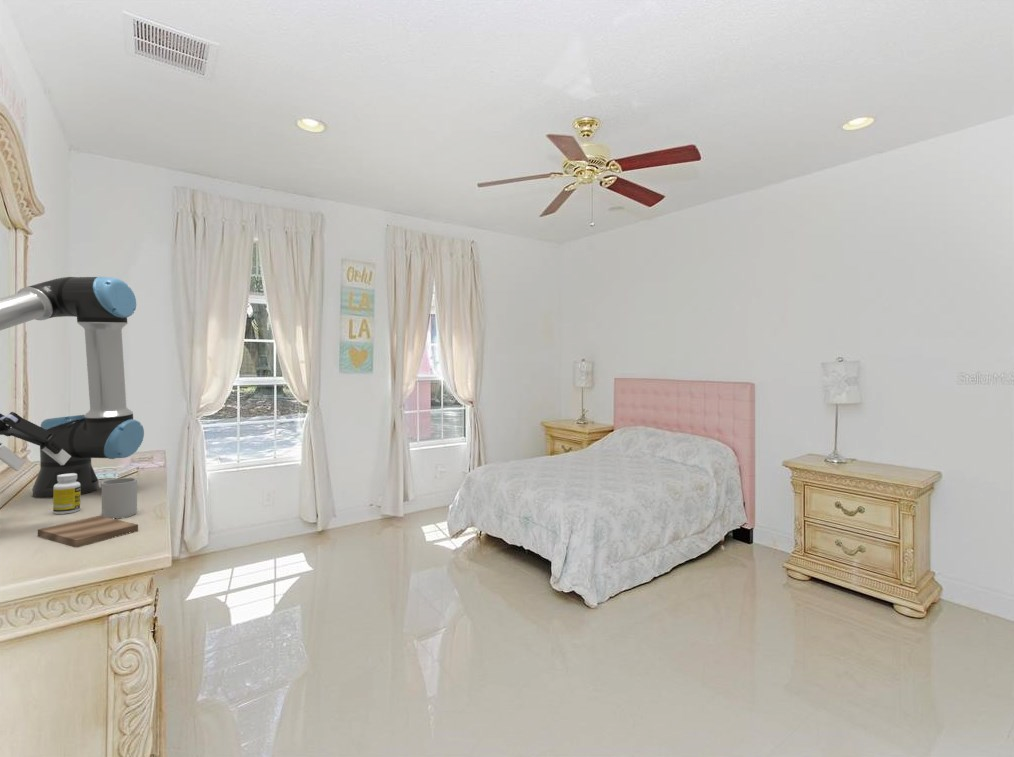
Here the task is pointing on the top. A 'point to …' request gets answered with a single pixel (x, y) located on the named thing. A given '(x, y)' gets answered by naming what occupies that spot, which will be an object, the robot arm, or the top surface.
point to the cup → (119, 497)
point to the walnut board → (87, 530)
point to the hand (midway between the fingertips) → (43, 463)
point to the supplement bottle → (66, 494)
